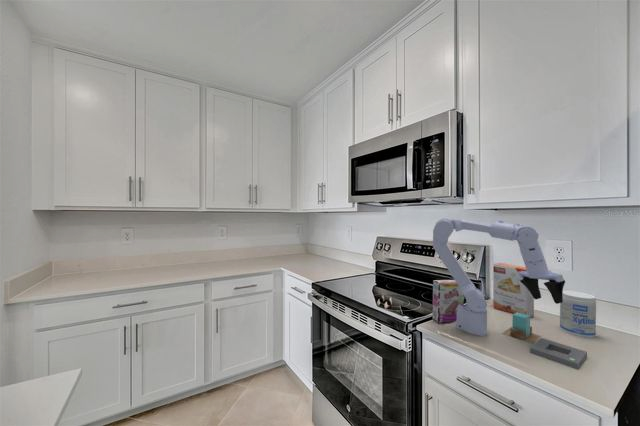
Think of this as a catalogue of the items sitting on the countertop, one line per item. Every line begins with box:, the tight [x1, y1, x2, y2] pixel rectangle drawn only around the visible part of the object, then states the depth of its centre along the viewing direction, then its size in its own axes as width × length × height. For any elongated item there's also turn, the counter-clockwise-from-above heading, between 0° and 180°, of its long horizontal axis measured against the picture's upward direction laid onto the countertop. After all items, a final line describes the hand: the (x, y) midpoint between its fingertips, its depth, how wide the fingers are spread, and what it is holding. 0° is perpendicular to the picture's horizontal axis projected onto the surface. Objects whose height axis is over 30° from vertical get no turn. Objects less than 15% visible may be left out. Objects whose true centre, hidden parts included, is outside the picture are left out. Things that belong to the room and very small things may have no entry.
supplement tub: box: [559, 290, 597, 338], centre depth 98 cm, size 10×10×15 cm
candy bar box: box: [432, 279, 465, 324], centre depth 110 cm, size 11×5×16 cm, turn 97°
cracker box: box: [492, 262, 535, 318], centre depth 119 cm, size 14×6×21 cm, turn 25°
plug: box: [512, 312, 531, 338], centre depth 95 cm, size 4×4×7 cm
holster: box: [501, 325, 542, 345], centre depth 95 cm, size 9×9×4 cm
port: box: [529, 337, 588, 370], centre depth 82 cm, size 11×11×3 cm
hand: (548, 300), depth 89 cm, fingers open, 7 cm apart
